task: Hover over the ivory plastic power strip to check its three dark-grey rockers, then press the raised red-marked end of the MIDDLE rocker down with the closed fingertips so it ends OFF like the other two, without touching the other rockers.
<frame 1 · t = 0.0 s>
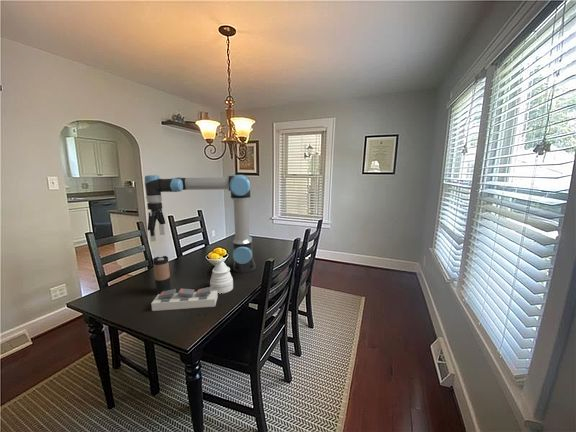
hand: (158, 237, 148), 28 cm above the table, fingers open, 13 cm apart
travel mug: (164, 292, 141), on the table
honey pot: (221, 288, 145), on the table
power strip: (186, 303, 128), on the table
rocker 2: (204, 291, 129), point 6 cm above the table, hinge at 10.0°
rocker mid: (186, 292, 128), point 6 cm above the table, hinge at -10.0°
rocker 1: (167, 293, 127), point 6 cm above the table, hinge at 10.0°
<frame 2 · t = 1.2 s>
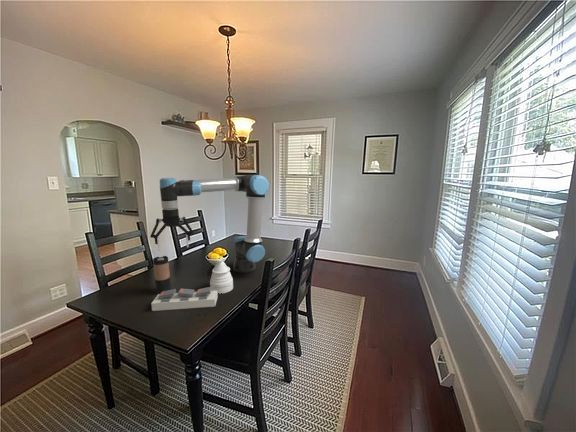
hand: (173, 248, 131), 27 cm above the table, fingers open, 13 cm apart
nothing on the table moved.
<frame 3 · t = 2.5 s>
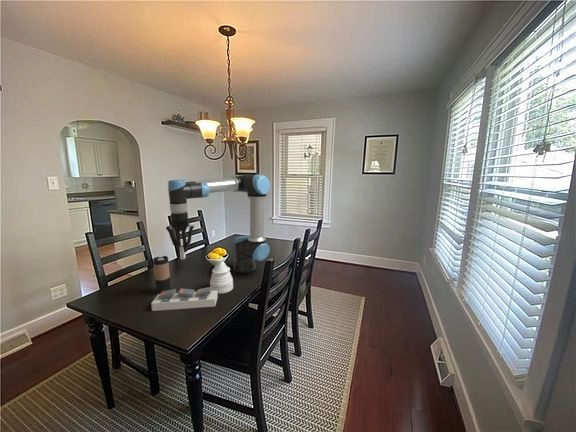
hand: (183, 258, 124), 24 cm above the table, fingers closed
nothing on the table moved.
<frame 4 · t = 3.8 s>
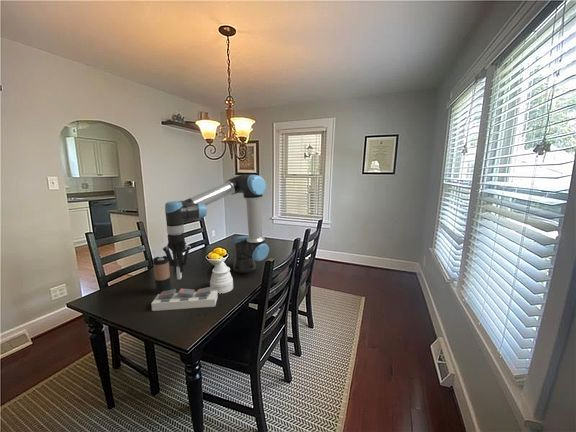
hand: (179, 278, 126), 14 cm above the table, fingers closed
nothing on the table moved.
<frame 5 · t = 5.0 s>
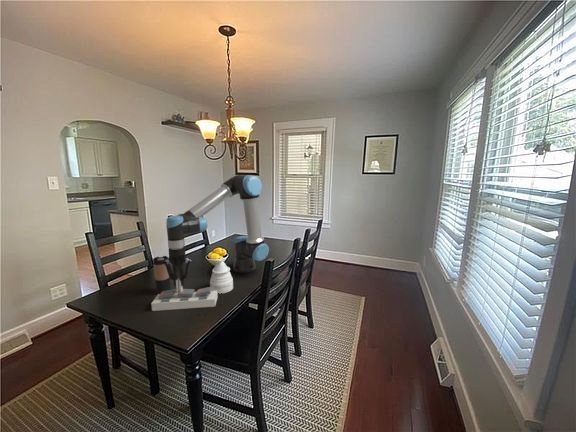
hand: (179, 291, 127), 7 cm above the table, fingers closed, pressing on rocker mid
rocker mid: (186, 292, 128), point 6 cm above the table, hinge at -5.9°, touching gripper
everything else where it was.
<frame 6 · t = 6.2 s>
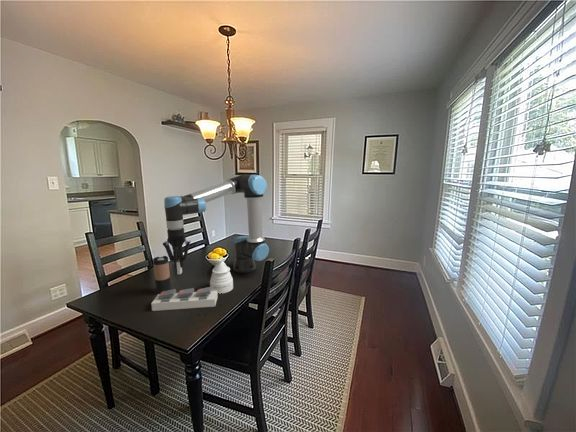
hand: (179, 273, 126), 16 cm above the table, fingers closed
rocker mid: (186, 292, 128), point 6 cm above the table, hinge at 6.7°
everything else where it was.
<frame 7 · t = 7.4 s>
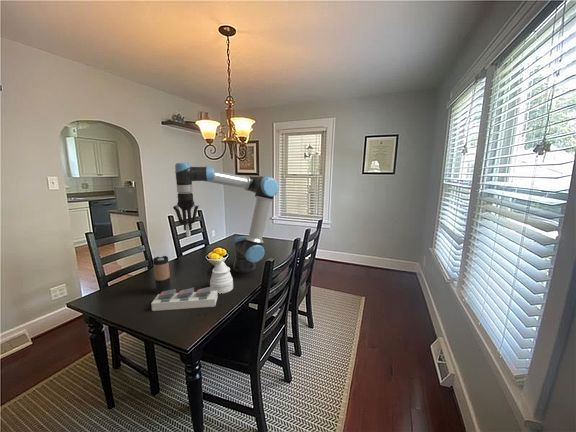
hand: (188, 235, 135), 32 cm above the table, fingers closed
rocker mid: (185, 292, 128), point 6 cm above the table, hinge at 10.8°
everything else where it was.
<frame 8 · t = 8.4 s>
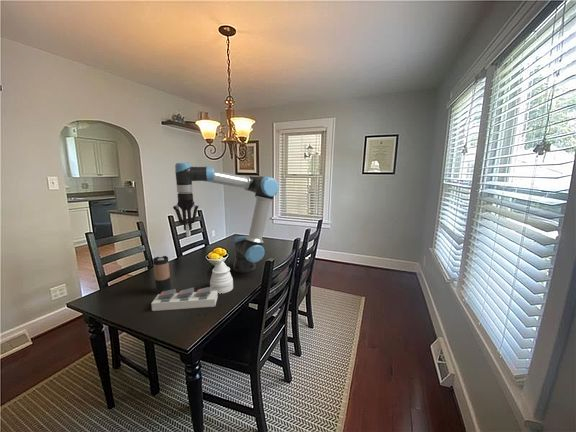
hand: (188, 235, 135), 32 cm above the table, fingers closed
rocker mid: (185, 292, 128), point 6 cm above the table, hinge at 12.0°
everything else where it was.
at the end: rocker mid at +12° (first picture: -10°); rocker 2 at +10° (first picture: +10°); rocker 1 at +10° (first picture: +10°) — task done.
